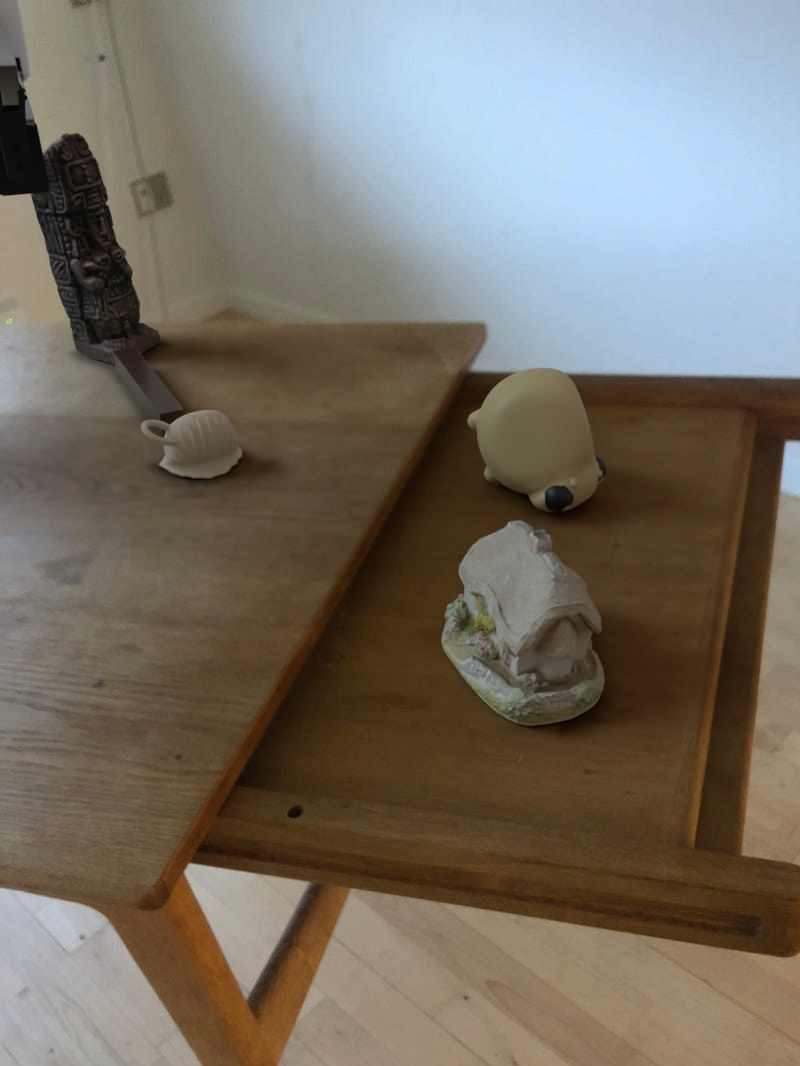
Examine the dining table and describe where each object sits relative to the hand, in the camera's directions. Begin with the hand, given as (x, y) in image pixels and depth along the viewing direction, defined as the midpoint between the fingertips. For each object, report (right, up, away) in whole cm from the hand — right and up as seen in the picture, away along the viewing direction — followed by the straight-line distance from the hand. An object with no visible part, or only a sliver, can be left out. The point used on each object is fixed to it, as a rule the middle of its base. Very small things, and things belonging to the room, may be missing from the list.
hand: (7, 171), depth 65 cm
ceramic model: (+35, -33, +2) cm, 48 cm away
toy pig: (+37, -19, +18) cm, 45 cm away
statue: (-5, -2, +33) cm, 33 cm away
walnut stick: (+1, -9, +25) cm, 27 cm away
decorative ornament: (+8, -17, +17) cm, 25 cm away
